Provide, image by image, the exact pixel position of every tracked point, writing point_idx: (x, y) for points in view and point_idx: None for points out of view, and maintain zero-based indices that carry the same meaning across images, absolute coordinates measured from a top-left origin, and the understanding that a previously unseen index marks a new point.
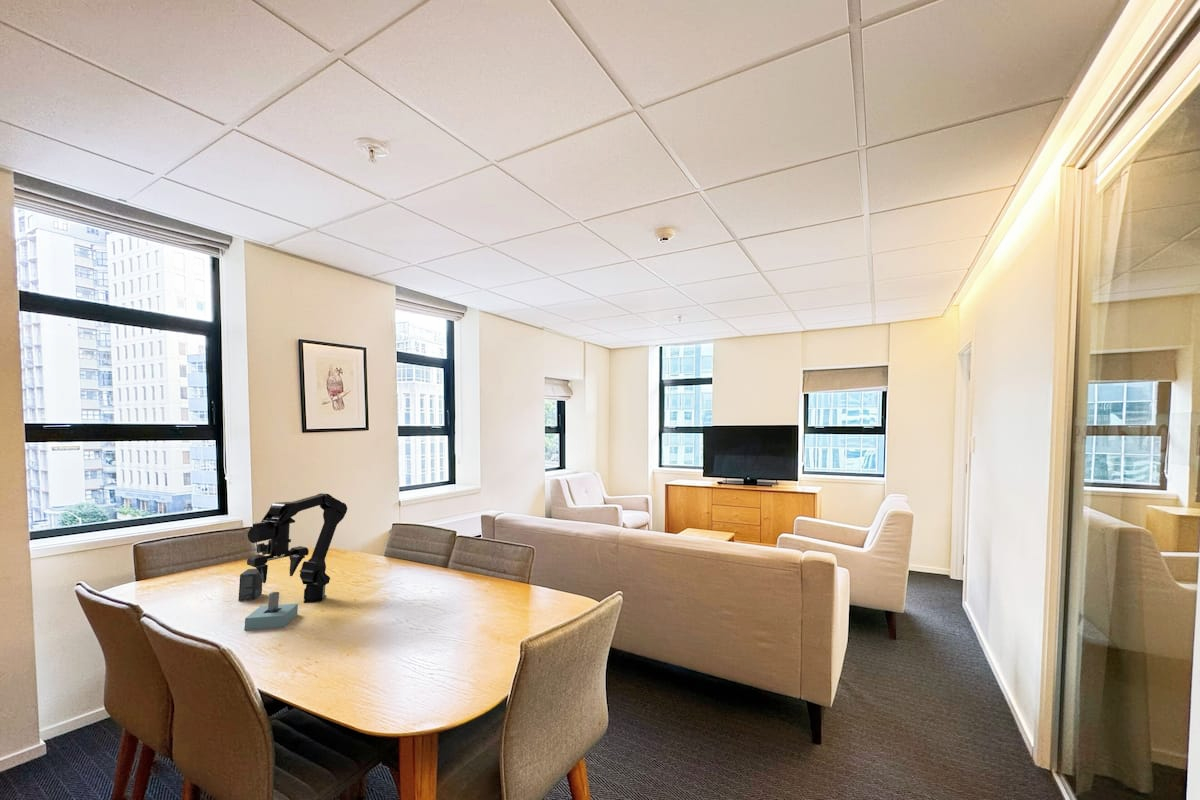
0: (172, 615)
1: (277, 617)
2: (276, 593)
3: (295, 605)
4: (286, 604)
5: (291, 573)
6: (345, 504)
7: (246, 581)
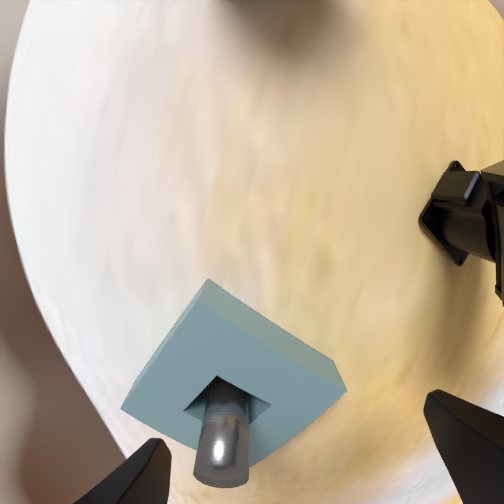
0: (29, 32)
1: None
2: (230, 484)
3: (325, 409)
4: (305, 375)
5: (433, 433)
6: None
7: None
